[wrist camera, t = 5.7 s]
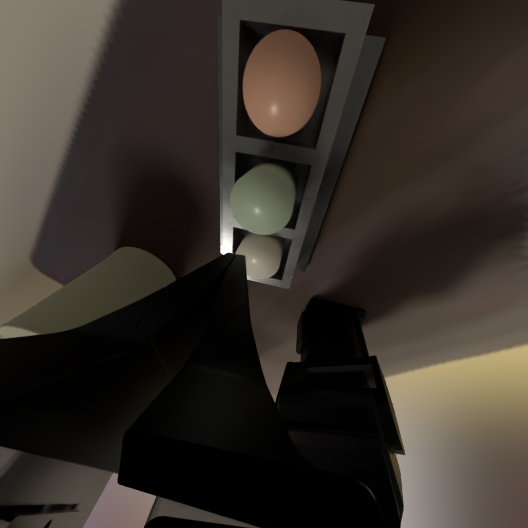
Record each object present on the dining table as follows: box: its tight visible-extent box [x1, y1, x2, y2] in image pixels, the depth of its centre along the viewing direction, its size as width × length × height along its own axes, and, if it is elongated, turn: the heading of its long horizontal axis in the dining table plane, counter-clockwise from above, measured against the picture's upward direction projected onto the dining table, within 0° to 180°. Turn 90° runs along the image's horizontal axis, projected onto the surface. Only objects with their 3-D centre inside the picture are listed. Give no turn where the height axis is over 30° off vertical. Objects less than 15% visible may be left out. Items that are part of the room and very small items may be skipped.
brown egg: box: [243, 29, 321, 137], centre depth 10 cm, size 4×4×4 cm
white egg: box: [236, 231, 285, 279], centre depth 16 cm, size 4×4×4 cm
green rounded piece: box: [230, 161, 297, 235], centre depth 12 cm, size 4×4×4 cm
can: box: [0, 247, 176, 339], centre depth 21 cm, size 9×9×12 cm
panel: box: [218, 0, 386, 289], centre depth 14 cm, size 9×16×4 cm, turn 172°
